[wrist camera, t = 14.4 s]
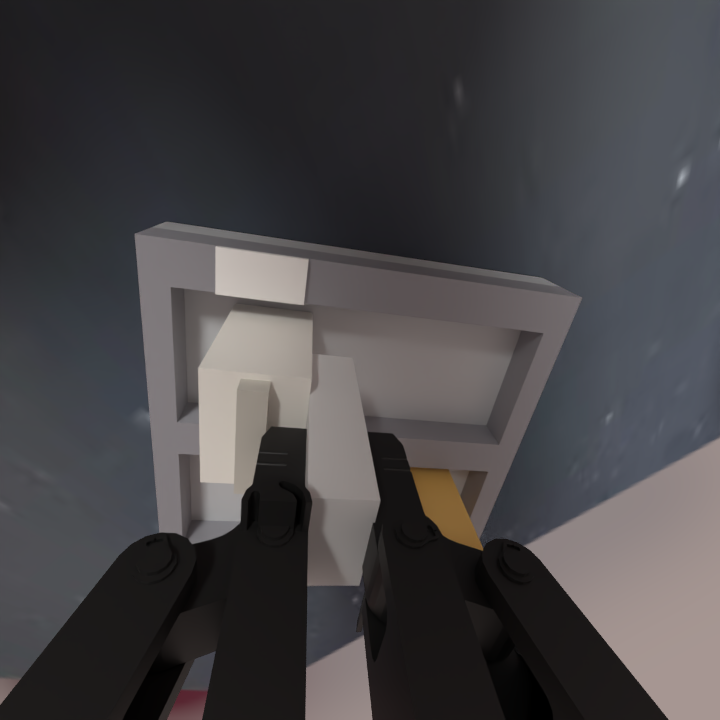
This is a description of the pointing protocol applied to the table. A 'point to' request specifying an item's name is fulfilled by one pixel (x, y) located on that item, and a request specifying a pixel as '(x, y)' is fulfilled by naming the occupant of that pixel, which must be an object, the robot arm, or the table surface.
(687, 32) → the table surface
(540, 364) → the frame
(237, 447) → the ivory tab
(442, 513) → the amber tab
